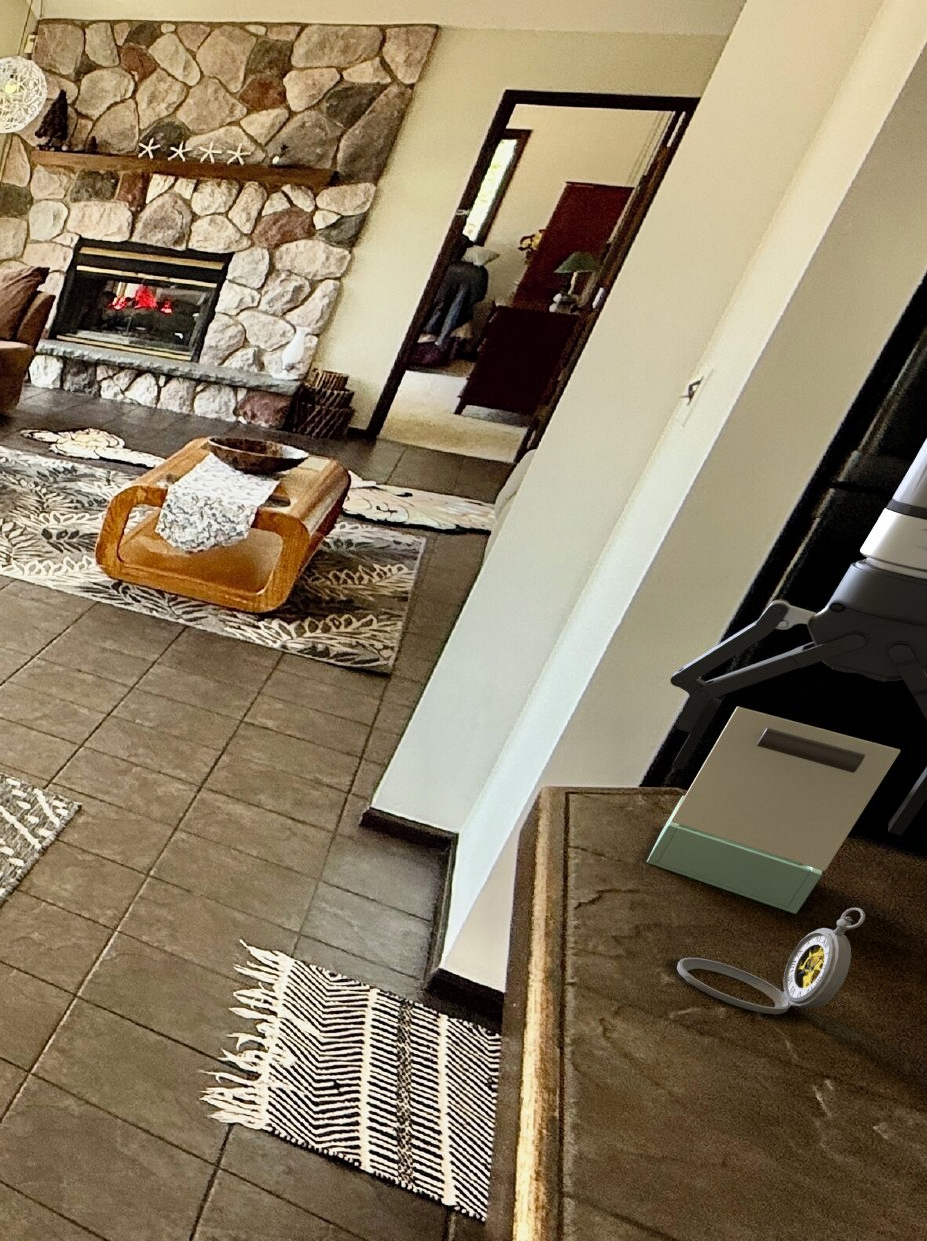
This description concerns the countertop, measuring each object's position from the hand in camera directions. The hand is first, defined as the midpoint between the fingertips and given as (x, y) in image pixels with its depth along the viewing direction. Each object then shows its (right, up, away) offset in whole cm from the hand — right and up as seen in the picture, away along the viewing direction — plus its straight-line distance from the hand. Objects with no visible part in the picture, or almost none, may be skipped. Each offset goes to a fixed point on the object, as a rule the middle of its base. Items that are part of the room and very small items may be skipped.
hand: (781, 796), depth 104 cm
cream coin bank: (+6, 0, +5) cm, 8 cm away
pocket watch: (-12, -16, -8) cm, 22 cm away
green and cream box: (+8, -9, +12) cm, 17 cm away
